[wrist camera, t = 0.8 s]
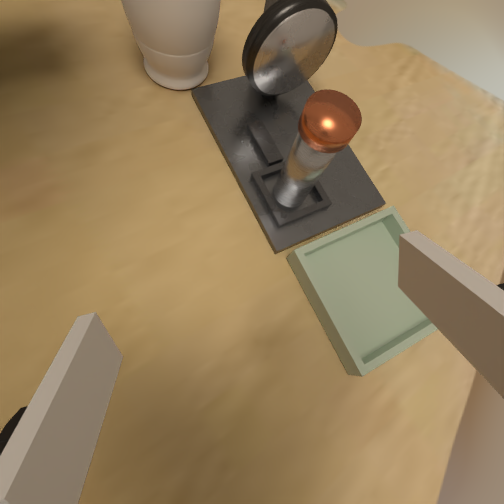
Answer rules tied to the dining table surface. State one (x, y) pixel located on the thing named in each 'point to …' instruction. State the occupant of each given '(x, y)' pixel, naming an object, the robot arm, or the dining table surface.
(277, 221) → the pulley plate
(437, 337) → the dining table surface
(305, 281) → the tray
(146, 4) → the jar
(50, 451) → the robot arm
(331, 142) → the copper-capped metal cylinder
